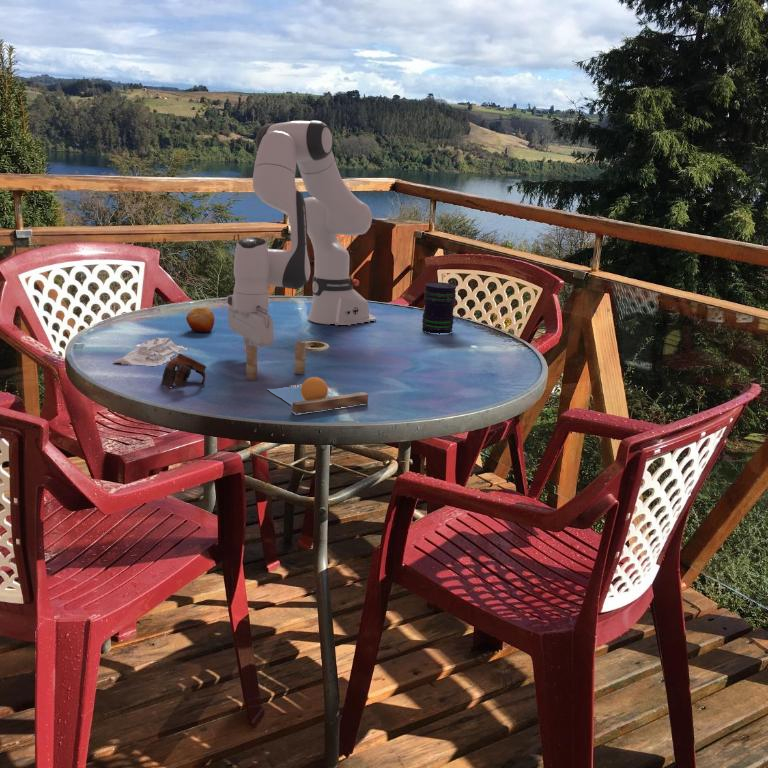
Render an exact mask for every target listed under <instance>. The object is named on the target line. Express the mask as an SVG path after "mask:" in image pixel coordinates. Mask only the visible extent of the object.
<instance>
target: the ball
mask: <svg viewBox="0 0 768 768" xmlns="http://www.w3.org/2000/svg"><path fill="white" fill-rule="evenodd" d="M303 381H304V382H303V383H302V386H301V395H302V397H303V399H304V400H311V399H318V398H325V397H326V396H327V393H328V388H329V387H328V385H327V383H326V382H325V380H323V378H320V377H317V376H312V377H309V378H307V379H305V380H303ZM327 387H328V388H327Z"/></svg>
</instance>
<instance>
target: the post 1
mask: <svg viewBox="0 0 768 768" xmlns="http://www.w3.org/2000/svg"><path fill="white" fill-rule="evenodd" d="M245 354H246V357H245V358H246V361H245V365H246V367H245V368H246V369H245V371H246V372H245V374H246V375H245V379H247V381H249V380H254V381H256V379H258V346H247V347H246V353H245Z"/></svg>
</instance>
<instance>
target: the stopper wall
mask: <svg viewBox="0 0 768 768" xmlns="http://www.w3.org/2000/svg"><path fill="white" fill-rule="evenodd" d="M360 404H368V405H369V394H368V393H367V392H364V391H360V392H354V393H347V394H341V395H339V396H332V397H325V398H318V399H311V400H304V401H297V402H292V406H291V407H292V409H291V412H292V411H293V412H295V413H296V414H298V413H306V412H314V411H321V410H328V409H335V408H341V407H348V406H354V405H360Z"/></svg>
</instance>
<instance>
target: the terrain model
mask: <svg viewBox="0 0 768 768" xmlns="http://www.w3.org/2000/svg"><path fill="white" fill-rule="evenodd" d="M137 348H138V349H137ZM137 348H136V349H133V350H132V351H130V352H128V353H126V354H125V356H123V357H121V358H118V359H116V360H115V359H114V361H113V364H114V363H115V364H120V365H123V364H128V365H127V366H136V365H146V366H145V367H149V366H157V365H162V364H163V363H166V362H167V361H170V357H172V356H173V355H175V354H174V353H176V354H178V353H181V351H180V352H178V351H179V350H188V349H187V348H184V347H183V345H176V344H175V343H174V342H173V341H172V340H171V338H170V337H160V336H159V337H156V338H153V339H150V340H146V341H144V342H142V343H141V344H140V346H139V347H137ZM162 366H163V365H162Z"/></svg>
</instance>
